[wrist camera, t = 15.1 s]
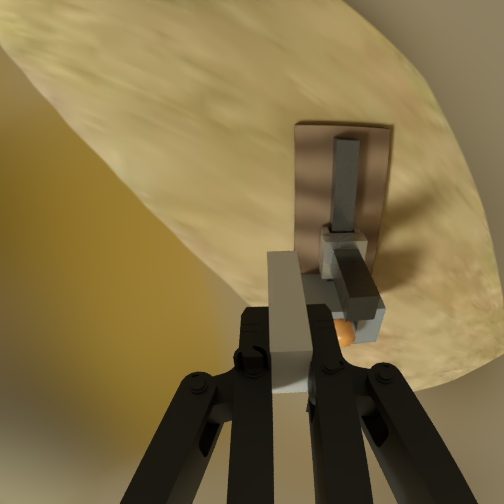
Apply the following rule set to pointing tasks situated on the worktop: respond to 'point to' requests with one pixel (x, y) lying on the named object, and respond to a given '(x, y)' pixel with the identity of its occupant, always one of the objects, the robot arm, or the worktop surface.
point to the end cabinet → (327, 294)
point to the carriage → (349, 273)
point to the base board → (320, 185)
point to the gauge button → (344, 332)
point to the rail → (343, 184)
